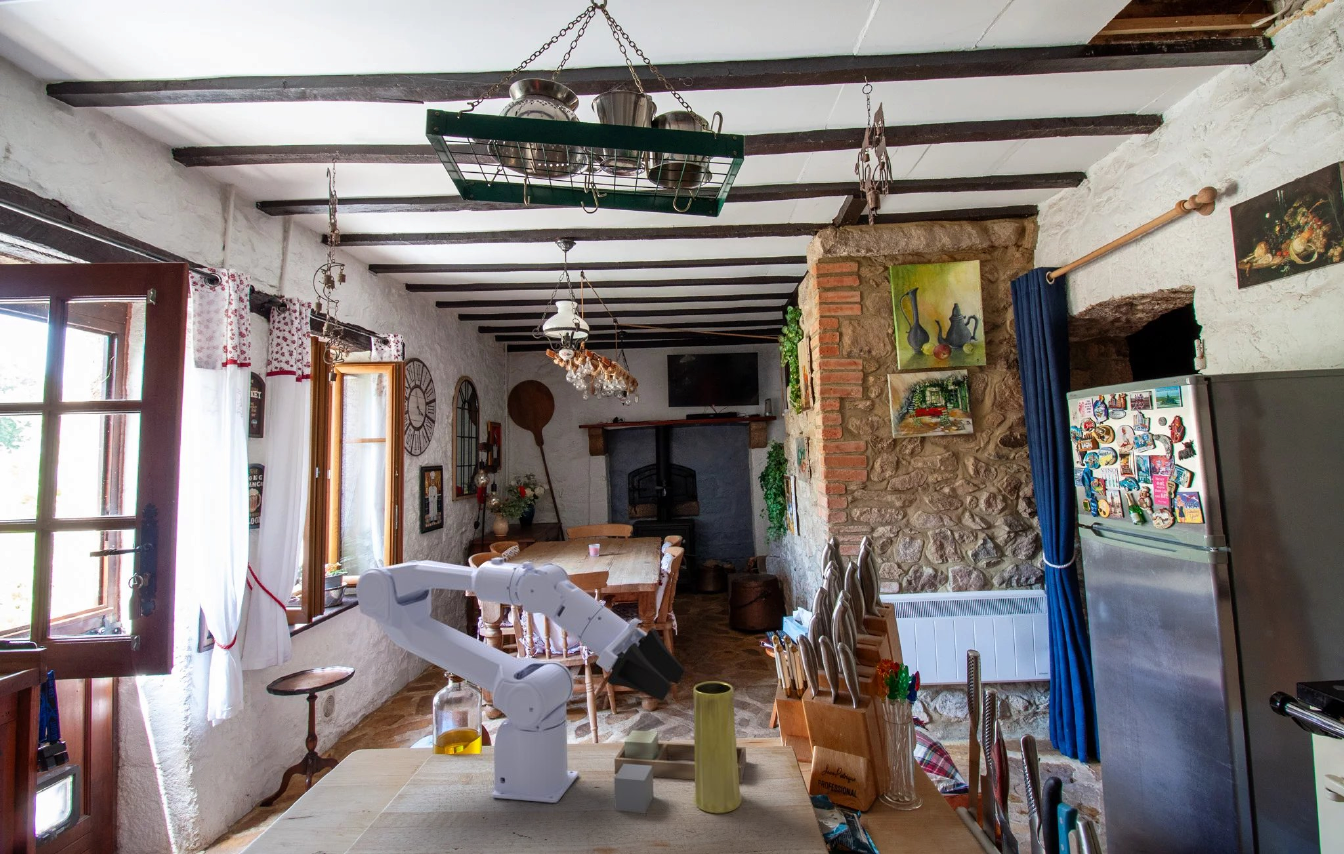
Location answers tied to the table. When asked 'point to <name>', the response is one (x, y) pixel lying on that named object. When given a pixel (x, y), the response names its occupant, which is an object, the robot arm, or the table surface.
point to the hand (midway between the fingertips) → (674, 684)
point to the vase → (715, 748)
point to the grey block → (633, 788)
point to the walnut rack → (664, 756)
